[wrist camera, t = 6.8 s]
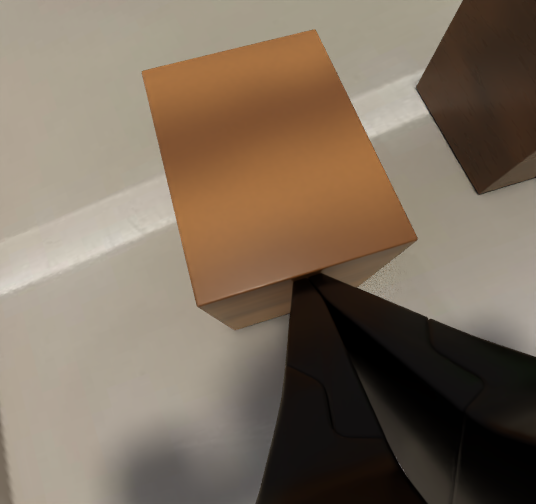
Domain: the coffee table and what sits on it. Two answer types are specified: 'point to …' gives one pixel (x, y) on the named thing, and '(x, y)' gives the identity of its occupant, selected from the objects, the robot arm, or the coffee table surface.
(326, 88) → the oak block
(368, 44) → the coffee table surface
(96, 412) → the coffee table surface
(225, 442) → the coffee table surface
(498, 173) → the walnut block
